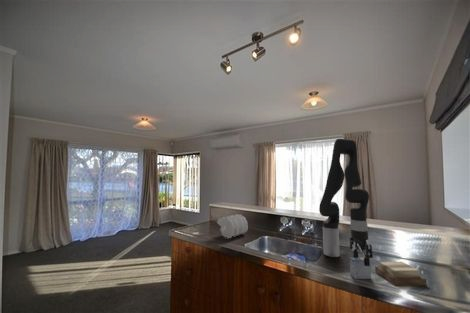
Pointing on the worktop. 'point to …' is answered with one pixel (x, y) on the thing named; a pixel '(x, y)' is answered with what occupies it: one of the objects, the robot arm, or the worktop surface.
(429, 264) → the worktop surface
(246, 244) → the worktop surface
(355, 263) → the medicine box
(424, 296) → the worktop surface
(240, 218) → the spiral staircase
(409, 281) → the plinth
